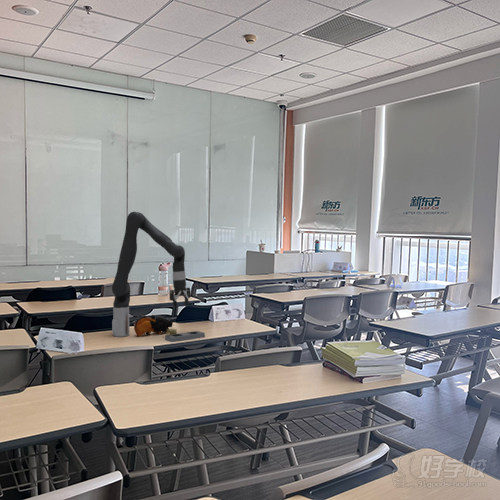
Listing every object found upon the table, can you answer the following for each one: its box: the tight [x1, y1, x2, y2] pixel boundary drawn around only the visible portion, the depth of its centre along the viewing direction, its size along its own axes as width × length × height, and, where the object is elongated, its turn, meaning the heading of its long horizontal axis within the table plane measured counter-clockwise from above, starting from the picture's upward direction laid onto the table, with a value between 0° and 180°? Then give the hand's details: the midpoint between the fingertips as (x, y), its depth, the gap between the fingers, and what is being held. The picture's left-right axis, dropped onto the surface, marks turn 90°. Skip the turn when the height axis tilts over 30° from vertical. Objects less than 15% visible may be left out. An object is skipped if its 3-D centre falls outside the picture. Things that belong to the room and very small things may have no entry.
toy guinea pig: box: [133, 314, 174, 338], centre depth 301 cm, size 8×23×15 cm, turn 125°
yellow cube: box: [166, 327, 177, 335], centre depth 294 cm, size 4×4×4 cm
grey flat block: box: [164, 330, 206, 343], centre depth 289 cm, size 22×8×2 cm, turn 128°
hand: (181, 306), depth 293 cm, fingers open, 8 cm apart
